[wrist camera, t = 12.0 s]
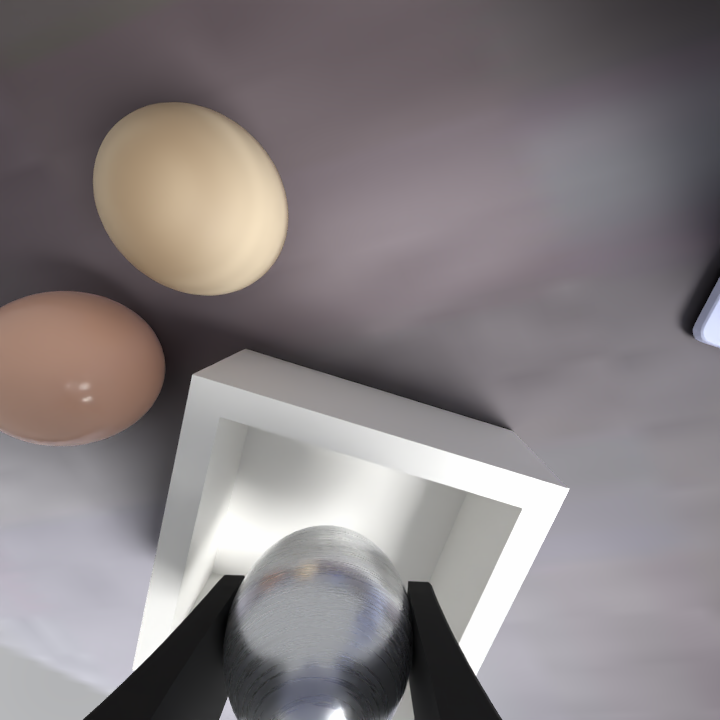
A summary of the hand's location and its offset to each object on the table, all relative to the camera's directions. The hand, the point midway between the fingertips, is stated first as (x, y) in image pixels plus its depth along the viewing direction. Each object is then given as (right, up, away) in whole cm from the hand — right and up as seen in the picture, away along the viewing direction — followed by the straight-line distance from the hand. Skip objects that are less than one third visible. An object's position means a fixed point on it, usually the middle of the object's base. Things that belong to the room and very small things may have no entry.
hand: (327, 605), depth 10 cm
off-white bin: (0, +1, +5) cm, 5 cm away
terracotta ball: (-8, +8, +3) cm, 12 cm away
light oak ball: (-4, +12, +2) cm, 13 cm away
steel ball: (0, +1, +2) cm, 2 cm away
